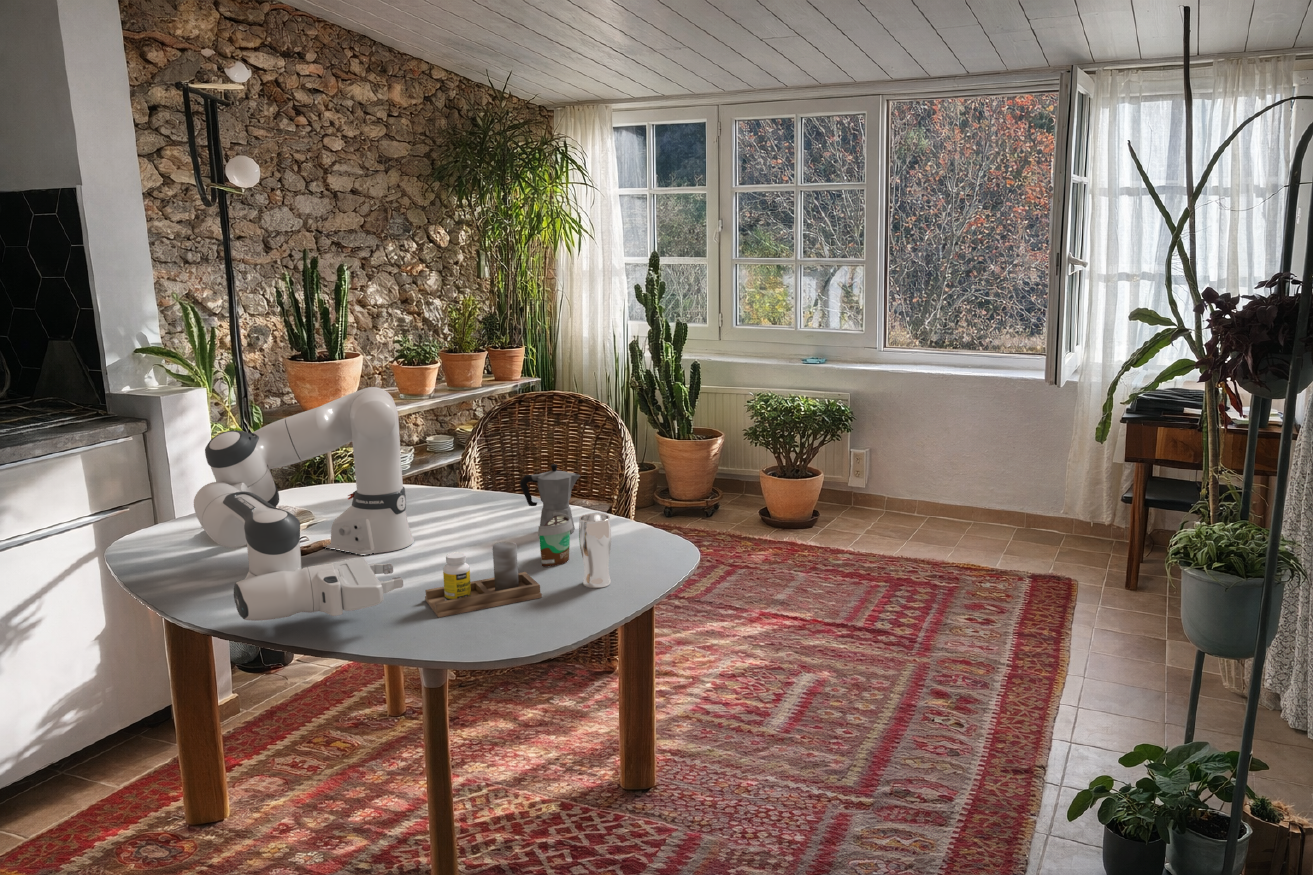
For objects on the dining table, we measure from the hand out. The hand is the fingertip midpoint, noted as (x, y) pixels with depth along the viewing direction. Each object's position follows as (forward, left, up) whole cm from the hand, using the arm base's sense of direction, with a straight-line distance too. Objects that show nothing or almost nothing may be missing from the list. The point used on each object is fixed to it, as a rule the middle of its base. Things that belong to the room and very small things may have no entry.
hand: (397, 574), depth 193 cm
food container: (+18, +39, -9) cm, 44 cm away
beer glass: (+32, +27, -9) cm, 43 cm away
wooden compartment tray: (+12, +12, -8) cm, 19 cm away
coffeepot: (+7, +59, -9) cm, 60 cm away
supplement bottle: (+8, +8, -8) cm, 14 cm away
